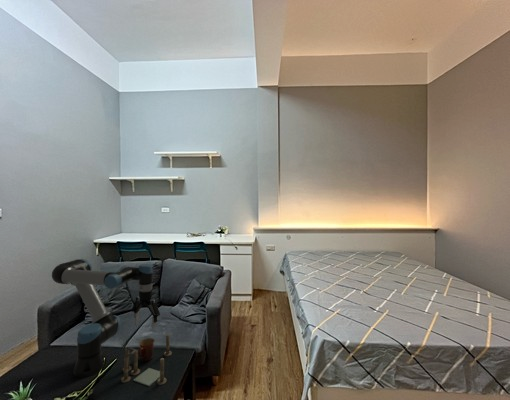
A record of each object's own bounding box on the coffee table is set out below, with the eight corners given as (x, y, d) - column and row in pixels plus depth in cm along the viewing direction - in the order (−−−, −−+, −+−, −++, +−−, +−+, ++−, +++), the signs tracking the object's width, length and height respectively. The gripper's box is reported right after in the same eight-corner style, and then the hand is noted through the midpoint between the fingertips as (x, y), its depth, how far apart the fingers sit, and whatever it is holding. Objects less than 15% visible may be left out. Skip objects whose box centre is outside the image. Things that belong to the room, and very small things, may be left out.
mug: (144, 353, 169) (144, 337, 169) (157, 355, 167) (157, 339, 167) (132, 365, 157) (132, 347, 157) (145, 367, 155) (145, 349, 155)
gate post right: (155, 383, 141) (155, 360, 141) (161, 377, 146) (161, 355, 146) (162, 385, 139) (162, 362, 139) (168, 380, 144) (168, 357, 144)
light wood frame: (110, 377, 145) (110, 354, 145) (127, 366, 156) (127, 344, 156) (125, 383, 141) (125, 359, 141) (142, 371, 151) (142, 348, 151)
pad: (133, 380, 143) (133, 379, 143) (149, 368, 153) (149, 367, 153) (149, 386, 139) (149, 385, 139) (164, 373, 149) (164, 372, 149)
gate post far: (162, 355, 167) (162, 336, 167) (167, 351, 171) (167, 332, 171) (168, 357, 165) (168, 337, 165) (173, 352, 170) (173, 334, 170)
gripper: (125, 289, 163) (125, 324, 163) (157, 295, 153) (157, 332, 153) (135, 285, 170) (135, 319, 170) (166, 291, 160) (166, 326, 160)
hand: (145, 325), depth 162 cm, fingers open, 13 cm apart
